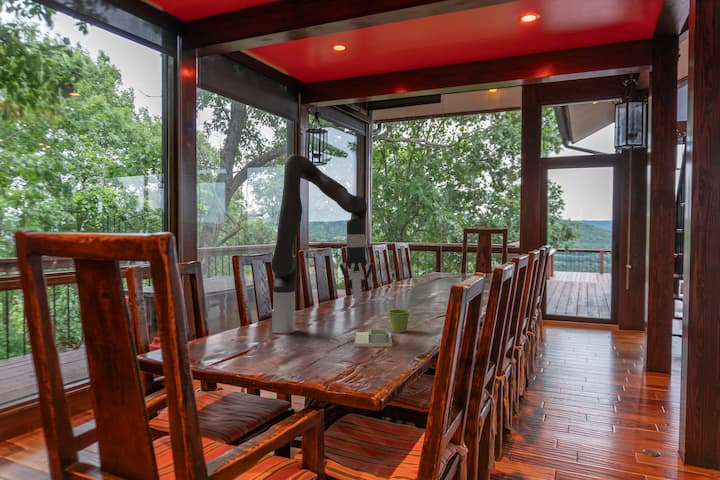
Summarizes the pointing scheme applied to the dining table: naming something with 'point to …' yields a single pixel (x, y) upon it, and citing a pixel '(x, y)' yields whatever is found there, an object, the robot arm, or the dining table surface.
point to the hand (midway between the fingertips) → (357, 288)
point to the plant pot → (399, 320)
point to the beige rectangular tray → (373, 338)
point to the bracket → (356, 284)
